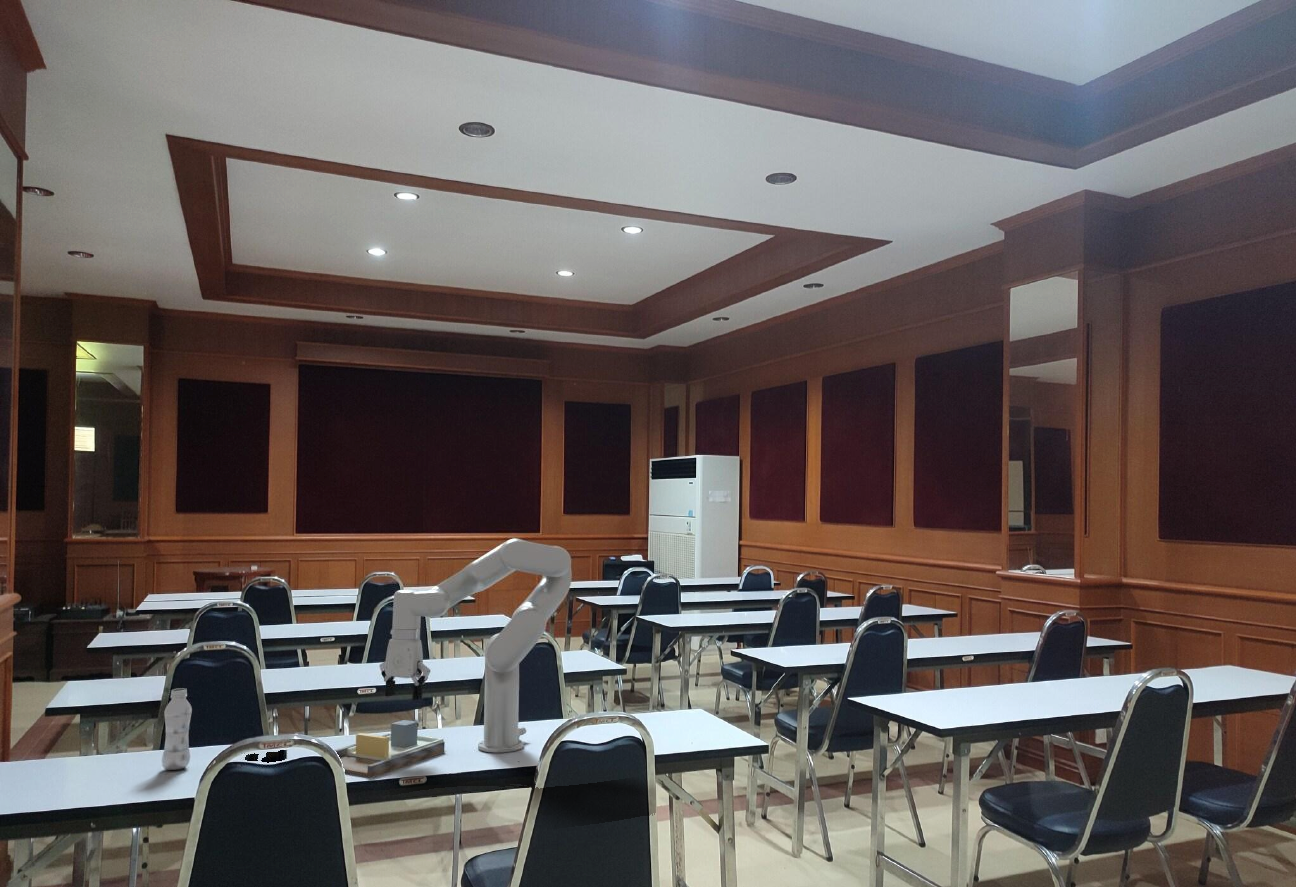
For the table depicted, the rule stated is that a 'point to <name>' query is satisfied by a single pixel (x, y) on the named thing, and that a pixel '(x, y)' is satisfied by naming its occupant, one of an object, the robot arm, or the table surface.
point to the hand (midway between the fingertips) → (403, 697)
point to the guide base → (379, 767)
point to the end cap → (269, 756)
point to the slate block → (404, 733)
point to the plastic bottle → (177, 731)
